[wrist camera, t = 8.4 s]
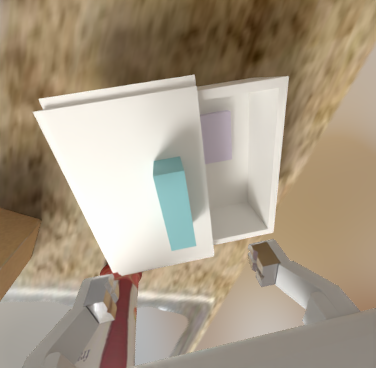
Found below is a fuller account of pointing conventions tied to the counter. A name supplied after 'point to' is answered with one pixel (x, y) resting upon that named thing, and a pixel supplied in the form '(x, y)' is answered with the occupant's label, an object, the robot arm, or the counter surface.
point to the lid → (135, 170)
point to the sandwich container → (15, 245)
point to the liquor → (115, 329)
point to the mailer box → (242, 153)
